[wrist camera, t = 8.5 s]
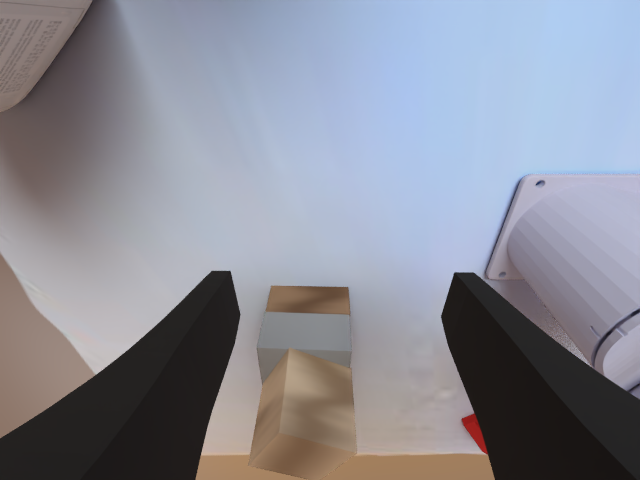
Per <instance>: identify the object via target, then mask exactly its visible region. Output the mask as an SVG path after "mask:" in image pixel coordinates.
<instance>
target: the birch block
mask: <svg viewBox="0 0 640 480" xmlns="http://www.w3.org/2000/svg"><path fill="white" fill-rule="evenodd" d="M355 454H357V444H356V430H355V415H354V401H353V386H352V372H351V368H348V367H345V366H342V365H339V364H336V363H333V362H330V361H328V360H325V359H322V358H319V357H316V356H313V355H310V354H307V353H304V352H301V351H298V350H295V349H293V348H290V347H289V349H288V350H287V351H286V353H285V354H284V355H283V357H282V358H281V360H280V361H279V362H278V364H277V365H276V366H275V368H274V369H273V370H272V372H271V373H270V374H269V376H268V377H267V379H266V380H265V381H264V383H263V386H262V392H261V397H260V403H259V408H258V414H257V419H256V425H255V430H254V436H253V441H252V447H251V452H250V458H249V463H248V466H252V467H256V468H260V469H265V470H269V471H274V472H278V473H282V474H287V475H291V476H295V477H300V478H304V479H309V480H321V479H322V478H324V477H325V476H327V475H328V474H330V473H331V472H332V471H334V470H335V469H336V468H338V467H339V466H340V465H342V464H343V463H344V462H346V461H347V460H348V459H350V458H351V457H353V456H354V455H355Z"/></svg>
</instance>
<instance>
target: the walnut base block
mask: <svg viewBox="0 0 640 480" xmlns="http://www.w3.org/2000/svg"><path fill="white" fill-rule="evenodd" d="M266 312H285V313H317V314H346V315H349V316H350V304H349V290H348V287H313V286H271V290H270V294H269V299H268V303H267V308H266Z"/></svg>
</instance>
